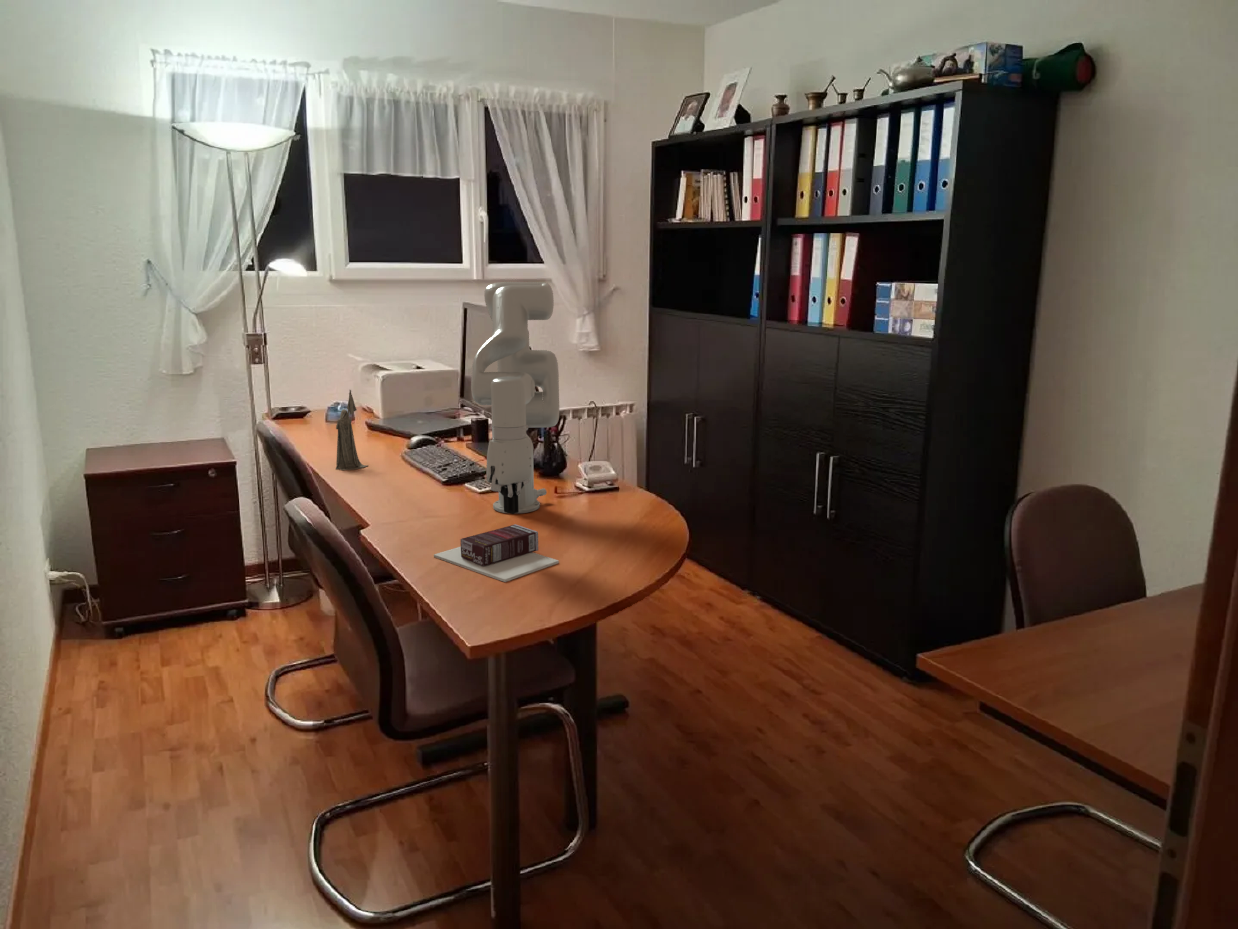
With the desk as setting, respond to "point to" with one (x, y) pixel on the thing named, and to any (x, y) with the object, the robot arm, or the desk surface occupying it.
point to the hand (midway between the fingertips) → (511, 512)
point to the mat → (500, 564)
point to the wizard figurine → (347, 440)
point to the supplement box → (499, 544)
